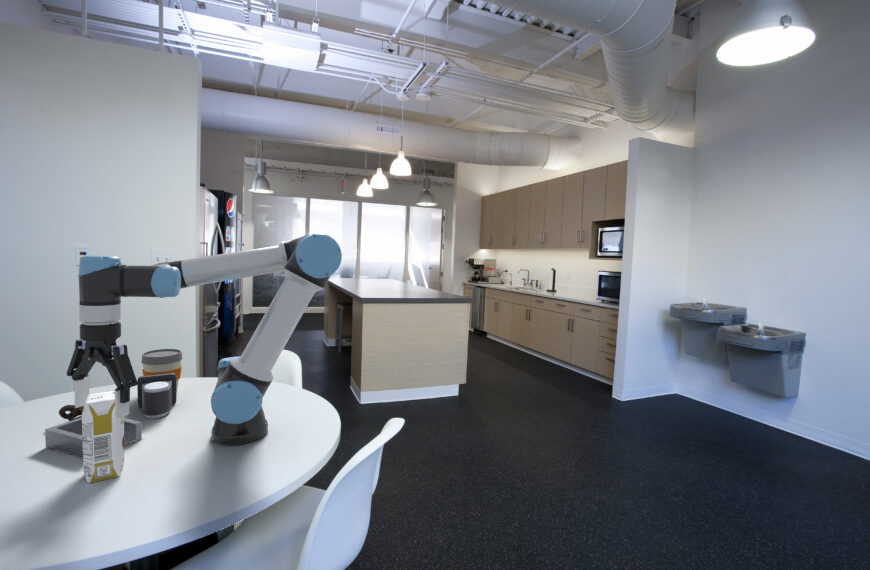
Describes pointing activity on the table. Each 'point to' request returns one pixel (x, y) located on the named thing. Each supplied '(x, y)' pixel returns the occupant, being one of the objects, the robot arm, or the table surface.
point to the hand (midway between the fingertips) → (101, 410)
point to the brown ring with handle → (73, 412)
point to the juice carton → (102, 438)
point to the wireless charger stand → (156, 394)
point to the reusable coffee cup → (162, 362)
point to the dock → (70, 436)
